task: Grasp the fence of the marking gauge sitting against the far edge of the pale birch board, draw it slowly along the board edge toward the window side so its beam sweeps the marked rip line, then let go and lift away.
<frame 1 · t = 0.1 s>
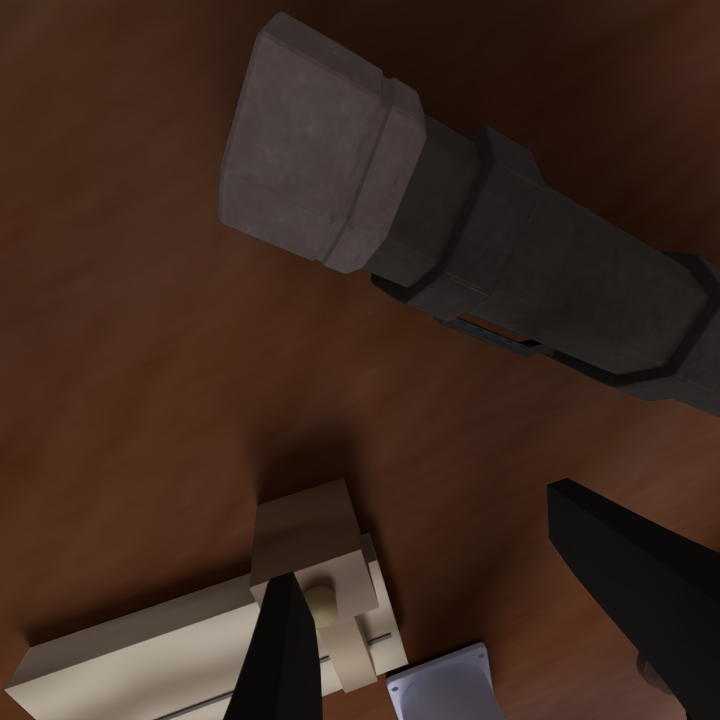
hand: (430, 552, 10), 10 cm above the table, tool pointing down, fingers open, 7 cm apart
black flashlight: (534, 290, 19), on the table
round smart speaker: (686, 637, 35), on the table
board: (236, 639, 23), on the table
gauge: (310, 517, 21), on the table
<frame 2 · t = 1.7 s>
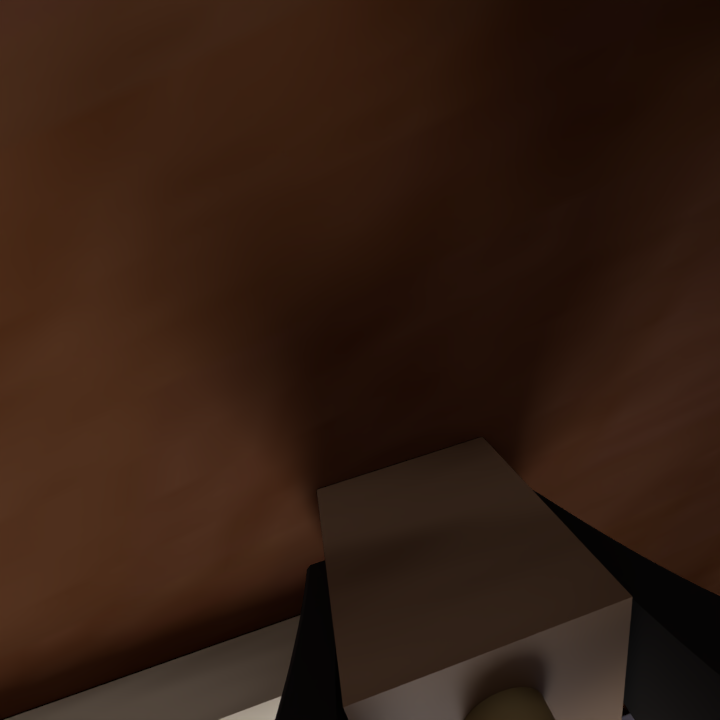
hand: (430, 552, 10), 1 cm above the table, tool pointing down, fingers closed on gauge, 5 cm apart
gauge: (413, 514, 11), on the table, touching gripper
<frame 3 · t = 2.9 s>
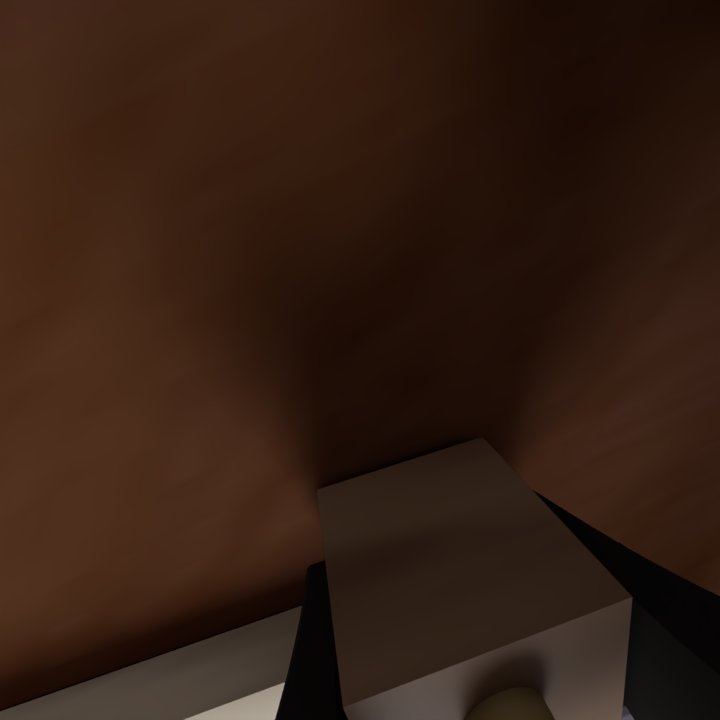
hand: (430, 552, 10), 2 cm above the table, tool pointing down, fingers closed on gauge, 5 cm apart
board: (271, 716, 14), on the table
gauge: (413, 514, 11), on the table, touching gripper
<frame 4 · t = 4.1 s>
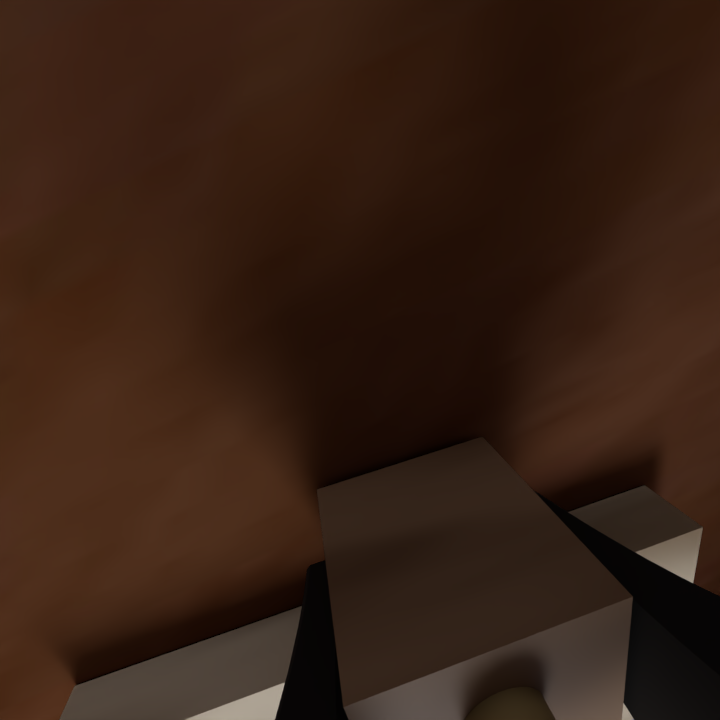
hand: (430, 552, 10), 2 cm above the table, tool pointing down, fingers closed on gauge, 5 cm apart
board: (407, 665, 14), on the table
gauge: (413, 514, 11), on the table, touching gripper
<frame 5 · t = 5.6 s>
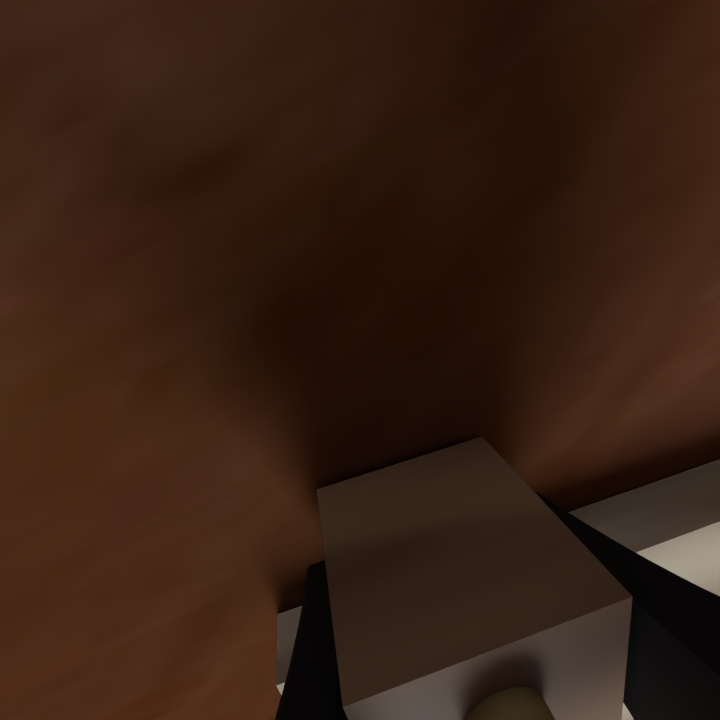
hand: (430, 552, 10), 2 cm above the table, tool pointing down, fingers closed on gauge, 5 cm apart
board: (558, 608, 15), on the table
gauge: (412, 514, 11), on the table, touching gripper
when the fingers open (2 cm above the table, at t = 6.8 s): gauge stays where it is, on the table.
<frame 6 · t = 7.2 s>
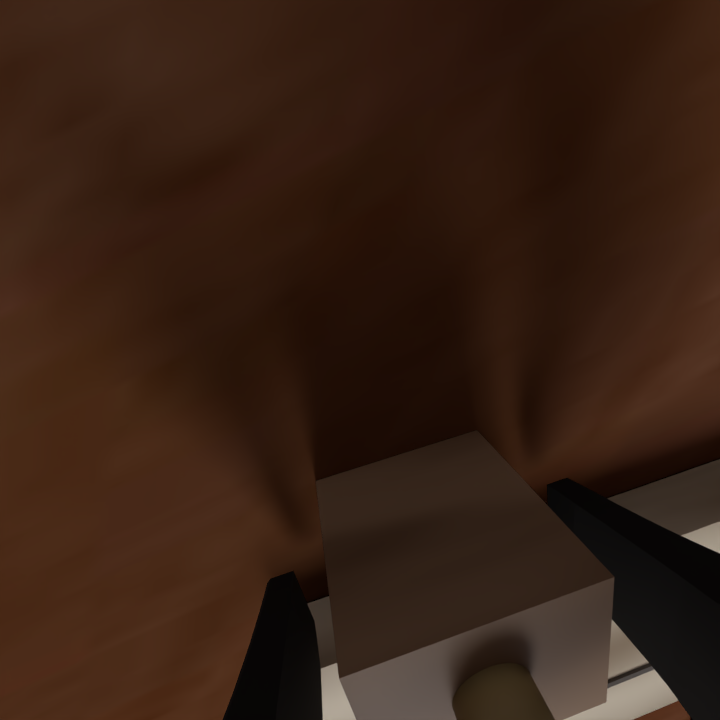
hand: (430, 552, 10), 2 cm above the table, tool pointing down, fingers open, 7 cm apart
board: (558, 607, 15), on the table
gauge: (409, 505, 12), on the table
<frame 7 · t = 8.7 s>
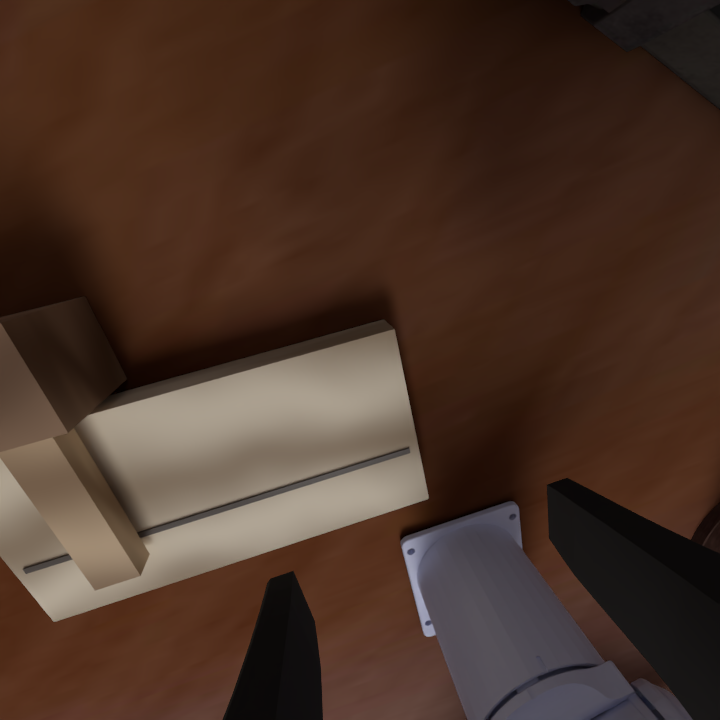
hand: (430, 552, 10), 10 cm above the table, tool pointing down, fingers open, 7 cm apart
board: (222, 458, 19), on the table
gauge: (49, 354, 16), on the table
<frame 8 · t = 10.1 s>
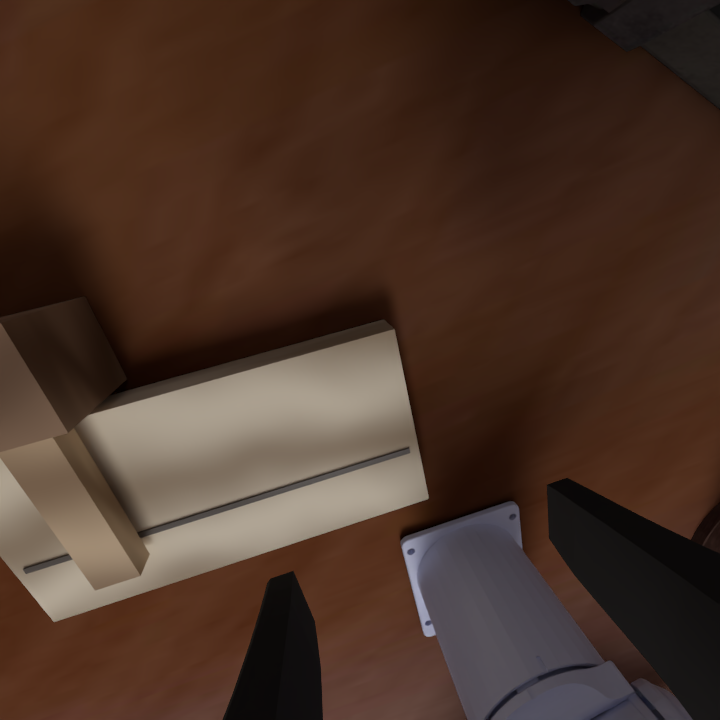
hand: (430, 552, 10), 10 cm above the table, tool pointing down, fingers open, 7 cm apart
board: (222, 458, 19), on the table
gauge: (49, 354, 16), on the table
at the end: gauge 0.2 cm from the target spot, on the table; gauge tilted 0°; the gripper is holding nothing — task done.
